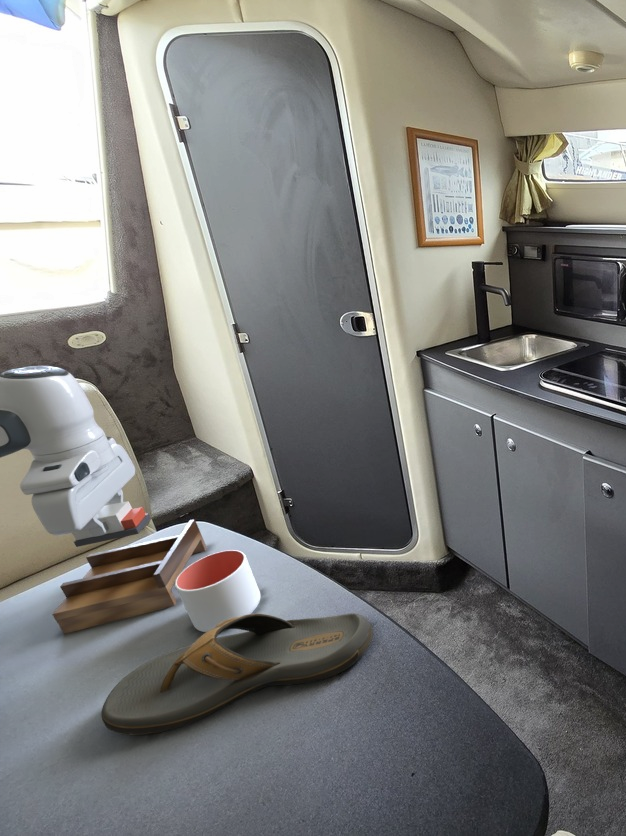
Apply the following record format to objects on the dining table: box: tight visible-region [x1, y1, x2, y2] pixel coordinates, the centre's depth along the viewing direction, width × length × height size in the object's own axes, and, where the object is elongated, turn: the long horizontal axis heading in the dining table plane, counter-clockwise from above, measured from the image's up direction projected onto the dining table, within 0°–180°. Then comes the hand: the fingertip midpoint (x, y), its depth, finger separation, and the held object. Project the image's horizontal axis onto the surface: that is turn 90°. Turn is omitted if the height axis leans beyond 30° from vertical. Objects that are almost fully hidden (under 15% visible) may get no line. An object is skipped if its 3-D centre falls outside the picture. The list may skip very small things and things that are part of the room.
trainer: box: [71, 500, 152, 548], centre depth 89 cm, size 9×5×6 cm, turn 110°
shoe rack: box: [51, 518, 208, 634], centre depth 94 cm, size 16×17×8 cm
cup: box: [174, 549, 261, 633], centre depth 87 cm, size 10×10×10 cm
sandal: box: [100, 612, 374, 736], centre depth 75 cm, size 14×34×9 cm, turn 104°
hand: (110, 523), depth 89 cm, fingers closed on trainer, 4 cm apart
